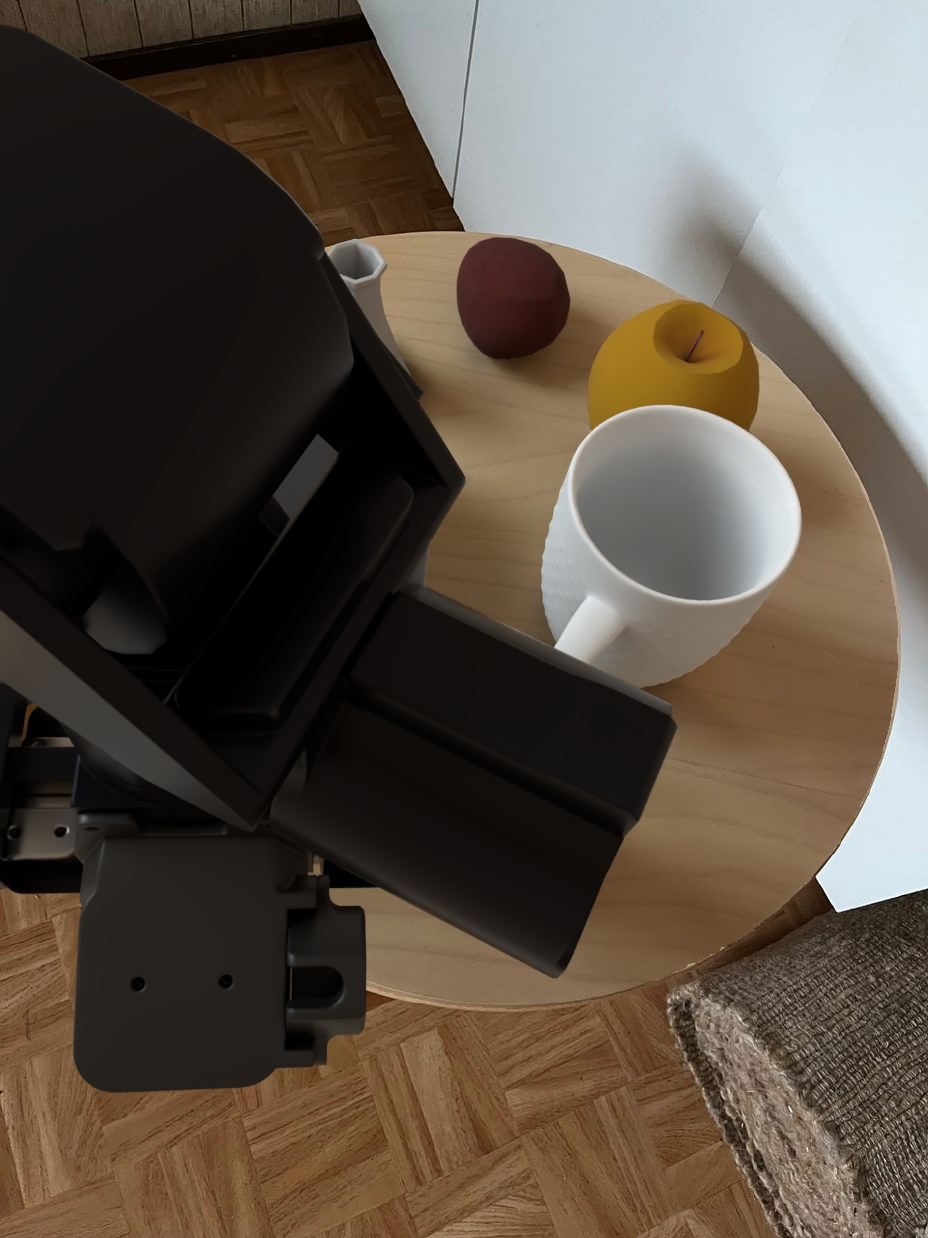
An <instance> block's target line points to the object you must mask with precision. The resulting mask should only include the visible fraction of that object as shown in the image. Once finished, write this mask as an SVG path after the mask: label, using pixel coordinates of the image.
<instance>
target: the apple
mask: <svg viewBox="0 0 928 1238" xmlns="http://www.w3.org/2000/svg"><path fill="white" fill-rule="evenodd" d="M757 358H758V357H757V356H756V353H755V350H754V348H753V345H752V343H751V341H750V339H749V337H748V334H747V332H746V331H745V330H744V329H743V328H741V326H739V325H738V324H737V323H736V322H735V321H734V320H732V318H729V317H727V316H726V315H724V314H722V313H721V312H719V311H717V310H715V309H714V308H712V307H710V306H709V305H707V304H705V303H704V302H700V301H694V300H686V299H675V300H671V301H667V302H664V303H660V304H657V305H655V306H652V307H650V308H648V309H645V310H643V311H641V312H638V313H636V314H633V316H631V317H629V318H628V319H627V320H625V321H624V322H622V323H621V324H619V325H618V326H617V327H616V328H615V329H614V330H613V331H612V332H611V333H610V334H609V336H608V337H607V338H606V340H605V341H604V342H603V344H602V345H601V347H600V349H599V351H598V353H597V355H596V357H595V359H594V361H593V363H592V366H591V370H590V374H589V378H588V400H587V402H588V403H587V410H588V417H589V424H590V429H591V432H592V431H593V430H594V429H595V428H596V427H597V426H599V425H600V424H601V423H603V422H604V421H606V420H608V419H609V418H611V417H613V416H615V415H617V414H620V413H622V412H625V411H628V410H631V409H635V408H639V407H645V406H654V405H675V406H684V407H689V408H694V409H698V410H702V411H705V412H709V413H711V414H714V415H717V416H719V417H722V418H724V419H726V420H728V421H730V422H732V423H734V424H736V425H737V426H739V427H741V428H743V429H744V430H746V431H747V432H749V431H750V429H751V427H752V424H753V423H754V419H755V417H756V415H757V412H758V406H759V397H760V364H759V362H758V359H757Z"/></svg>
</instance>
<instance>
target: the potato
mask: <svg viewBox="0 0 928 1238" xmlns="http://www.w3.org/2000/svg"><path fill="white" fill-rule="evenodd" d="M455 291H456V304H457V305H456V306H457V312H458V315H459V318H460V321H461V324H462V327H463V329H464V331H465V333H466V335H467V337H468V338H469V340H470V341H471V343H472V344H473V345H474V347H476V348H477V350H479V351H480V352H481V353H482V354H483V355H485V356H487V357H489V358H491V359H493V360H501V361H512V360H516V359H520V358H526V357H530V356H531V357H532V356H534V355H535V354H537V353H539V352H540V351H542V350H544V349H546V348H547V347H549V346H551V345H552V344H553V342H554V341H555V340H556V339H557V338H558V337H559V335H560V334H561V333H562V332H563V330H564V329H565V327H566V325H567V322H568V317H569V313H570V309H571V308H570V307H571V300H572V299H571V294H570V291H569V287H568V283H567V279H566V275H565V272H564V270H563V268H561V266H560V265H559V264H558V262H557V261H556V259H555V258H554V257H553V255H552V254H551V253H550V252H548V251H546V250H545V249H543V248H542V247H540V246H539V245H537V244H536V243H532V242H529V241H525V240H522V239H519V238H515V237H505V236H504V237H501V236H495V237H494V236H492V237H488V238H485V239H481V240H480V241H478V242H476V243H475V244H474V245H472V246H471V247H469V248H468V250H467V251H466V253H465V255H464V256H463V258H462V260H461V263H460V266H459V267H458V272H457V278H456V289H455Z"/></svg>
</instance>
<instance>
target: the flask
mask: <svg viewBox="0 0 928 1238" xmlns="http://www.w3.org/2000/svg"><path fill="white" fill-rule="evenodd" d="M378 248H379V247H377V246H375V245H372V244H370V243H368V242H366V241H364V240H360V239H358V238H352V239H349V240H346V241H342V242H339V243H334V245H333V246H332V247H331V249H329V251H328V253H327V255H328V256H329V258H330V260H331V261H332V263H333V264H334V266H335V268H336V269H337V271H338V272H339V274H340V276H341V277H342V279H343V280H344V282H345V284H346V285H347V287H348V289H349V290H350V292H351V293H352V295H353V297H354V298H355V300H356V301H357V303H358V305H359V306H360V308H361V309H362V311H363V313H364V314H365V316H366V317H367V319H368V321H369V322H370V324H371V325H372V327H373V329H374V330H375V332H376V334H377V335H378V337H379V338H380V339H381V341H382V342H383V343H384V344H385V346H386V347H387V348H388V349H389V351H390V352H391V353H392V354H393V355H394V357H395V358H396V359H397V360H398V362H399V363H400V364H401V365H402V366H403V368H404V369H405V370H406V371H407V373H408V374H409V375H410V376H411V373H410V371H409V368H408V366H407V364H406V362H405V360H404V357H403V355H402V353H401V351H400V349H399V346H398V344H397V342H396V339H395V336H394V334H393V332H392V329H391V327H390V324H389V321H388V319H387V317H386V314H385V309H384V302H383V299H382V293H381V280H382V276H383V274H384V273H385V271H387V268H388V262H387V260H386V258H385V257H384V256H383V254H382V253H381V252H380V250H379V249H378ZM411 377H412V376H411Z"/></svg>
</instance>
